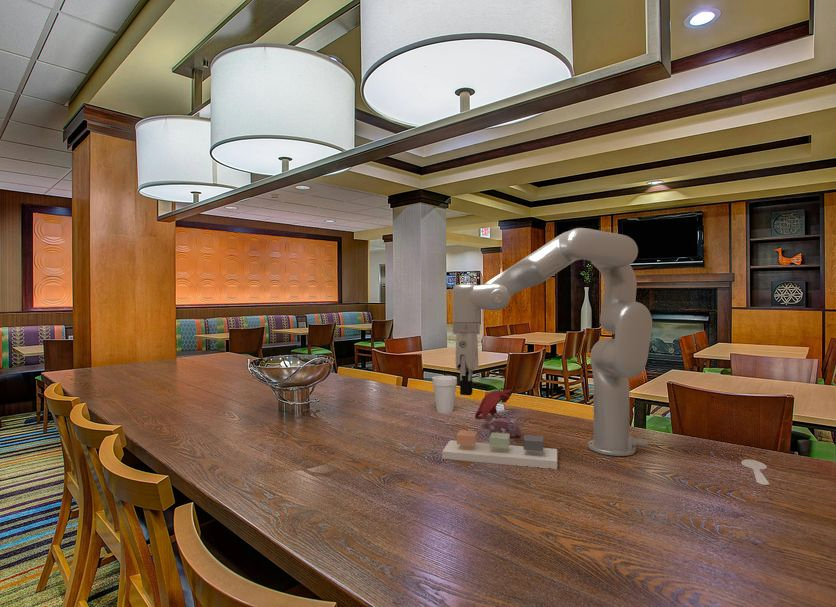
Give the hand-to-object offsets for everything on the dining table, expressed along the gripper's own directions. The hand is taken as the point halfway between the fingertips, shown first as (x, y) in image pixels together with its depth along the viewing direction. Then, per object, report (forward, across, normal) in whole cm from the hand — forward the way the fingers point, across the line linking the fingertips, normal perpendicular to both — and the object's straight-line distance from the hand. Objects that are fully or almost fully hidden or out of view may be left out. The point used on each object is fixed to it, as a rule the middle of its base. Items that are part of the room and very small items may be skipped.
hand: (466, 394), depth 129 cm
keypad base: (+17, 0, -9) cm, 19 cm away
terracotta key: (+13, 0, 0) cm, 13 cm away
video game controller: (+17, +21, -8) cm, 28 cm away
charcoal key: (+13, 0, -18) cm, 23 cm away
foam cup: (+17, +46, +17) cm, 52 cm away
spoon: (+17, +6, -72) cm, 74 cm away
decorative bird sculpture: (+17, +39, -2) cm, 43 cm away
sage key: (+13, 0, -9) cm, 16 cm away
